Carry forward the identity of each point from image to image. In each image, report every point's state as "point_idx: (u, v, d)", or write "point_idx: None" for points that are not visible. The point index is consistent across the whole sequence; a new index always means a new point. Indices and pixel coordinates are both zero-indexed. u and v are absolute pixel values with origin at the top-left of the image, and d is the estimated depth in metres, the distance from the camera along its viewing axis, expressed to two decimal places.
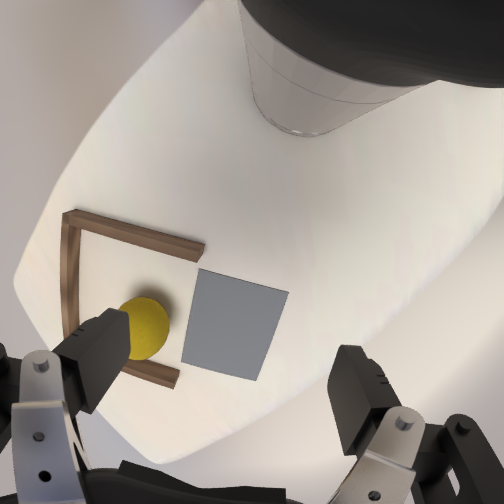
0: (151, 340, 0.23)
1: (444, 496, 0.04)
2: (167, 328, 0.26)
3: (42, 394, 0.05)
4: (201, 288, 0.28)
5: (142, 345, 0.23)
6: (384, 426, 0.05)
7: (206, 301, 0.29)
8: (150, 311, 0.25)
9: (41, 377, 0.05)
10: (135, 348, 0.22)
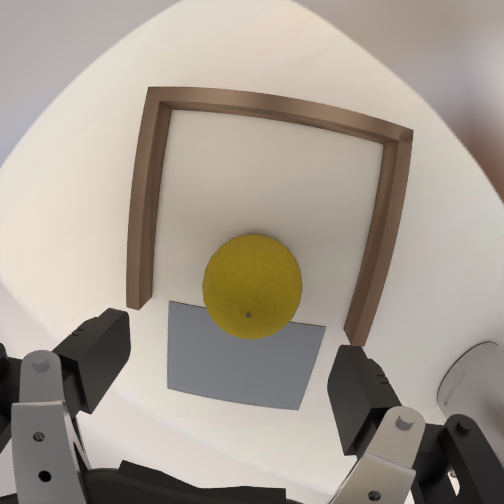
0: (260, 337, 0.14)
1: (444, 496, 0.04)
2: None
3: (42, 394, 0.05)
4: (298, 330, 0.21)
5: (256, 334, 0.14)
6: (384, 426, 0.05)
7: (280, 337, 0.21)
8: None
9: (41, 377, 0.05)
10: (250, 327, 0.13)
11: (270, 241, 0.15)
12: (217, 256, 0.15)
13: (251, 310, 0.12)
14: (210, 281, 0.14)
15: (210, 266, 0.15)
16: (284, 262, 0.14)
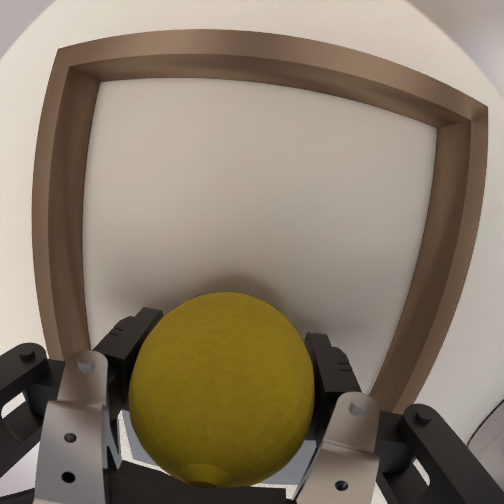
0: None
1: (413, 486, 0.05)
2: None
3: (95, 394, 0.05)
4: None
5: None
6: (335, 409, 0.06)
7: None
8: None
9: (84, 377, 0.06)
10: None
11: (253, 318, 0.07)
12: (146, 352, 0.07)
13: (210, 485, 0.04)
14: (132, 406, 0.06)
15: (135, 370, 0.07)
16: (281, 374, 0.06)
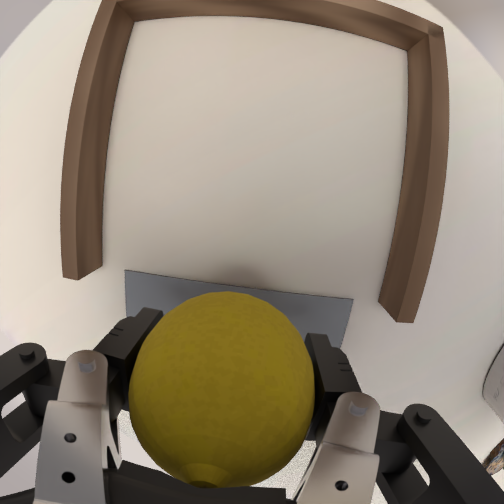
0: None
1: (413, 486, 0.05)
2: None
3: (95, 394, 0.05)
4: (314, 307, 0.14)
5: None
6: (335, 409, 0.06)
7: (288, 318, 0.15)
8: None
9: (84, 377, 0.06)
10: None
11: (253, 318, 0.07)
12: (146, 351, 0.07)
13: (210, 484, 0.04)
14: (133, 406, 0.06)
15: (134, 369, 0.07)
16: (281, 373, 0.06)
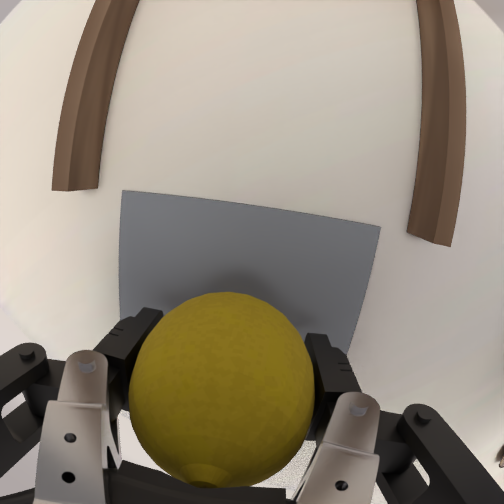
0: None
1: (414, 486, 0.05)
2: None
3: (95, 394, 0.05)
4: (337, 232, 0.12)
5: None
6: (335, 409, 0.06)
7: (308, 245, 0.13)
8: None
9: (85, 377, 0.06)
10: None
11: (253, 318, 0.07)
12: (146, 352, 0.07)
13: (210, 485, 0.04)
14: (132, 407, 0.06)
15: (135, 370, 0.07)
16: (281, 374, 0.06)
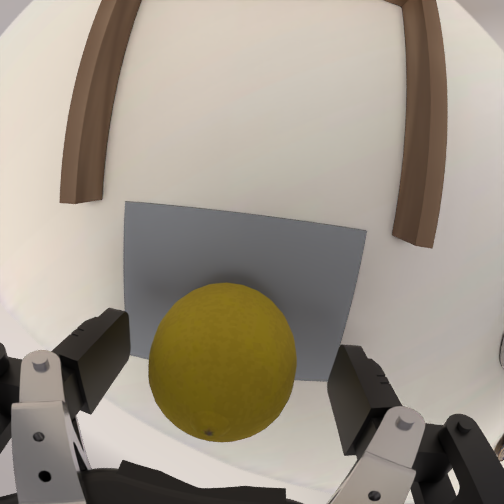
0: None
1: (444, 496, 0.04)
2: None
3: (42, 394, 0.05)
4: (326, 237, 0.14)
5: (227, 441, 0.08)
6: (384, 426, 0.05)
7: (298, 249, 0.14)
8: None
9: (41, 377, 0.05)
10: (217, 439, 0.08)
11: (245, 301, 0.10)
12: (163, 329, 0.09)
13: (213, 428, 0.07)
14: (153, 371, 0.08)
15: (154, 344, 0.09)
16: (266, 341, 0.08)
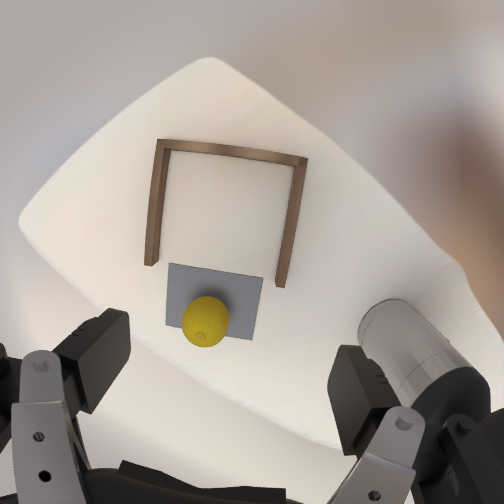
0: (208, 346, 0.31)
1: (444, 496, 0.04)
2: None
3: (42, 394, 0.05)
4: (246, 280, 0.36)
5: (205, 345, 0.30)
6: (384, 426, 0.05)
7: (235, 284, 0.36)
8: None
9: (41, 377, 0.05)
10: (202, 342, 0.30)
11: (212, 302, 0.32)
12: (187, 310, 0.31)
13: (201, 335, 0.29)
14: (184, 322, 0.31)
15: (184, 314, 0.31)
16: (216, 314, 0.31)
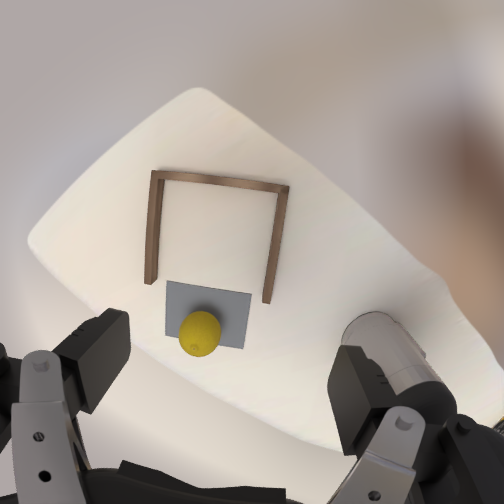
0: None
1: (444, 496, 0.04)
2: None
3: (42, 394, 0.05)
4: (236, 296, 0.40)
5: (198, 355, 0.34)
6: (384, 426, 0.05)
7: (227, 299, 0.40)
8: (217, 344, 0.37)
9: (41, 377, 0.05)
10: (196, 353, 0.34)
11: (205, 317, 0.36)
12: (183, 324, 0.35)
13: (194, 347, 0.33)
14: (180, 335, 0.34)
15: (180, 328, 0.35)
16: (208, 328, 0.35)
